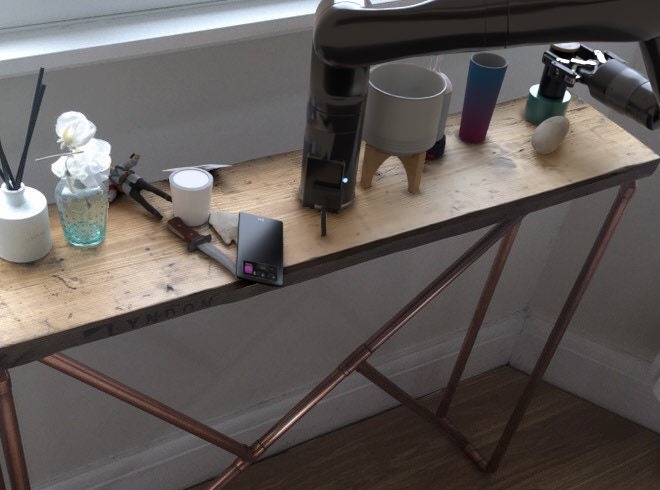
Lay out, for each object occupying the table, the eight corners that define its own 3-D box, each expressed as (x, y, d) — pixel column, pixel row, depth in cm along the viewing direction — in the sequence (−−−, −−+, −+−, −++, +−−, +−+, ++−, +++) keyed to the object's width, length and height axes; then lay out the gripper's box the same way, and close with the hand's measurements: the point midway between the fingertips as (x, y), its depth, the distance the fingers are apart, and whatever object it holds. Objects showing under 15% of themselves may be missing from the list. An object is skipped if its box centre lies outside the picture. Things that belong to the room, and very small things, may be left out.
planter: (386, 204, 149) (403, 105, 136) (339, 169, 156) (350, 72, 144) (442, 183, 155) (463, 87, 142) (394, 150, 162) (409, 56, 150)
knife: (259, 259, 133) (237, 274, 130) (259, 266, 134) (237, 281, 131) (176, 214, 140) (154, 227, 137) (176, 221, 141) (154, 234, 138)
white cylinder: (205, 201, 146) (205, 164, 141) (218, 224, 141) (218, 186, 136) (164, 207, 143) (163, 169, 139) (176, 231, 139) (175, 192, 134)
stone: (524, 143, 162) (539, 100, 167) (529, 169, 166) (544, 126, 172) (556, 142, 159) (570, 98, 164) (560, 169, 163) (574, 125, 169)
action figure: (136, 224, 137) (74, 179, 143) (158, 237, 143) (98, 194, 149) (169, 174, 136) (106, 131, 142) (190, 190, 142) (129, 148, 148)
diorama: (228, 161, 155) (229, 172, 156) (160, 168, 153) (161, 178, 154) (234, 166, 148) (235, 177, 148) (162, 173, 146) (163, 184, 147)
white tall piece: (422, 165, 159) (449, 26, 142) (390, 145, 163) (412, 9, 146) (453, 152, 163) (482, 16, 146) (421, 133, 167) (446, -1, 150)
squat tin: (562, 129, 172) (570, 105, 169) (521, 122, 173) (528, 98, 170) (564, 111, 178) (571, 88, 174) (525, 104, 179) (531, 80, 176)
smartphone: (239, 208, 138) (238, 213, 139) (236, 276, 129) (234, 280, 130) (284, 218, 140) (282, 222, 141) (283, 285, 130) (282, 290, 131)
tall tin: (566, 101, 170) (581, 50, 163) (538, 98, 170) (552, 47, 163) (563, 88, 174) (577, 38, 167) (535, 85, 174) (549, 35, 167)
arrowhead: (232, 239, 135) (193, 215, 141) (233, 250, 136) (194, 225, 142) (267, 225, 138) (227, 202, 144) (267, 235, 139) (227, 212, 145)
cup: (446, 134, 168) (462, 57, 157) (469, 124, 171) (486, 48, 161) (474, 149, 164) (492, 71, 154) (497, 138, 168) (516, 62, 158)
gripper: (658, 62, 157) (594, 27, 167) (600, 75, 152) (537, 38, 161) (644, 102, 162) (583, 65, 172) (587, 116, 157) (527, 77, 167)
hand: (561, 52), depth 167 cm, fingers open, 8 cm apart
